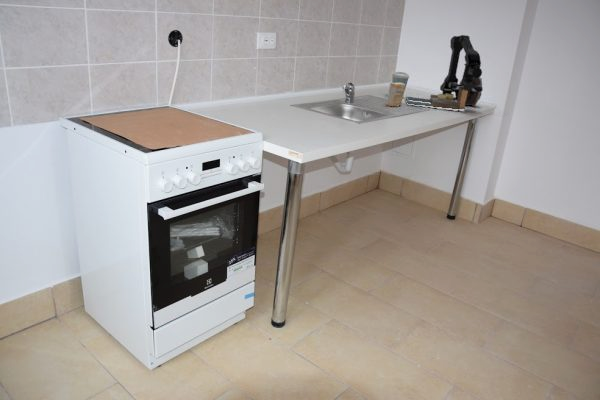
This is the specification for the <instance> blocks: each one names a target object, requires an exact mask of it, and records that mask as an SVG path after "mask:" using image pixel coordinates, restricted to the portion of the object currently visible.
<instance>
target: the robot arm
mask: <svg viewBox="0 0 600 400" xmlns="http://www.w3.org/2000/svg"><path fill="white" fill-rule="evenodd" d="M449 47H450V49H451V54H450V61H449V68H448V73H447V75H446V77H444V81H443V82H442V83H441V85H440V87H439V88H440V89H439V90H440V91H442V92H441V94H445V95H446V93H449V94H453V93H455V94H454V96H455V97H456V101H457V99H458V92H459V88H464V89H469V90H470V93H469V96H468V100H467V102H469V100H470V99H471V97H472V96H473V94H474V93H477V91H479V92H481V93H482V92H483V90H484V89H483V85H482V86H480V85H477V82H473V77H474V78H479V77H480V78H481V76H482V74H483V71H482V68H481V64H482V61H481V56H480V54H479V52H478V51H477V50H475V49H474V46H473V44H472V42H471V38H470V36H469V35H464V34H461V35H453V36H452V37H451V39H450V46H449ZM462 50H463V51H464V54H465V55H464V62H465V63H464V64H463V65H464V71H463V74H462V78H461V80H462V82H461V81H460V82H461V85H460V83H459V79H458V78H457V72H458V66H459V61H460V55H461V51H462ZM458 83H459V84H458Z"/></svg>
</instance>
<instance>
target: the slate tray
mask: <svg viewBox="0 0 600 400" xmlns="http://www.w3.org/2000/svg"><path fill="white" fill-rule="evenodd" d="M404 100H406V101H407V103H408V104H414V105H425V106H433V105H434V104H429V103H421V102H413V101H422V102H430V98H429V99H428V98H421V97H413V96H405V99H404ZM409 100H413V101H409ZM406 101H405V102H406ZM407 103H406V104H407Z"/></svg>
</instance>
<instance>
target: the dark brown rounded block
mask: <svg viewBox="0 0 600 400" xmlns="http://www.w3.org/2000/svg"><path fill="white" fill-rule="evenodd" d="M461 82H462V79H460V82H459V84H460V85H461ZM473 82H477V85H480V86H482V87H483V79H482V77H481V76H480V77H479V78H474V77H473ZM461 89H464V88H459V92H458V99H457V102H459V98H460V94H461ZM467 90H468V93H467V97H466V102H465V106H466V105H472V106H471V107H474V106H475V107H476V105H477V104H478V101H479V100H480V99H481V96H482V92H479V91H477V93H474V94H473V96H472V97H471V99H470V100H469V102H467V100H468V96H469V93H470V90H469V89H467Z"/></svg>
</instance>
